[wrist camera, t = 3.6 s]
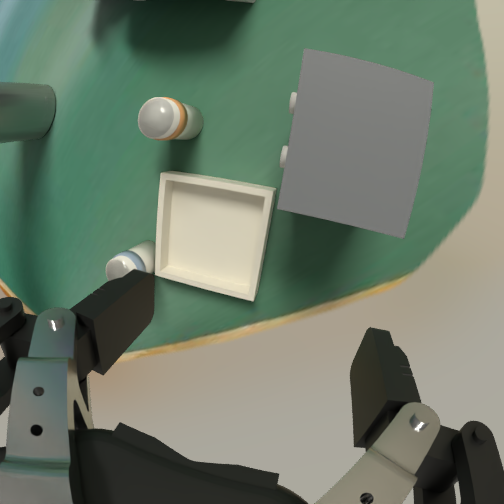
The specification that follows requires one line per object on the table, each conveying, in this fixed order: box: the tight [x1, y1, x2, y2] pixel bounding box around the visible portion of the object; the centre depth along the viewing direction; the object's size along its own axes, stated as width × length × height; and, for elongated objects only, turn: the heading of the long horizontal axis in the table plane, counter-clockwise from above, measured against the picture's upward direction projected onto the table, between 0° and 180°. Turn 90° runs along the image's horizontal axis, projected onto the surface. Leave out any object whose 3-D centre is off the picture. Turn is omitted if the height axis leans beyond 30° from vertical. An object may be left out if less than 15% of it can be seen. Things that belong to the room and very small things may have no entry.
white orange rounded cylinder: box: [138, 97, 203, 140], centre depth 27 cm, size 4×4×7 cm
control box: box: [277, 48, 434, 239], centre depth 22 cm, size 9×10×14 cm
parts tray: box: [155, 171, 277, 301], centre depth 33 cm, size 12×12×2 cm
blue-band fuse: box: [106, 240, 156, 281], centre depth 34 cm, size 4×4×7 cm
